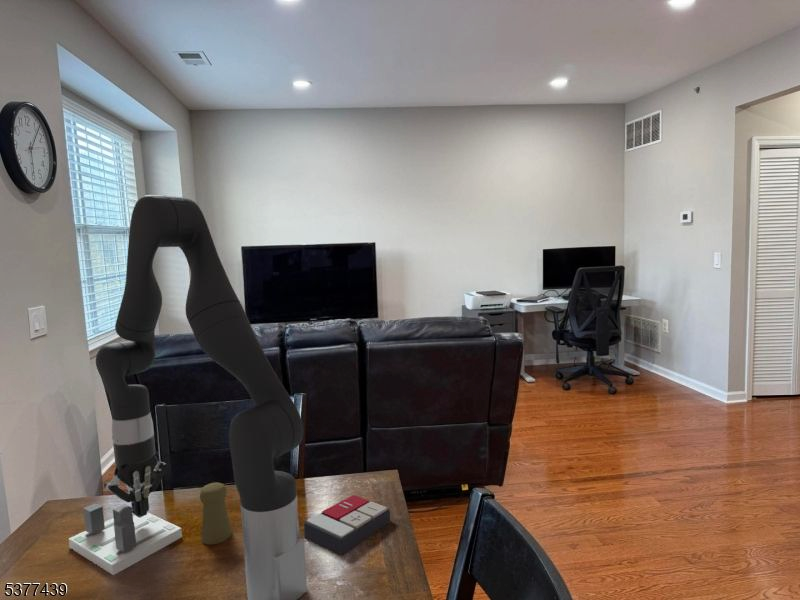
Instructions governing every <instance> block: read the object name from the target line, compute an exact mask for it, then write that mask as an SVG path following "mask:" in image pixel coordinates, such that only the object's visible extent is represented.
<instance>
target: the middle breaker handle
mask: <svg viewBox="0 0 800 600" xmlns="http://www.w3.org/2000/svg"><path fill="white" fill-rule="evenodd" d="M112 515H113V517H112V518H114V524H115V523H117V522H119V521H122V520H124V519H126V518H127V519H129V520H131V521H133V514H132V506H130V505H128V504H125V503H123V504H121V505H120V506H117V507H115V508H113V509H112Z"/></svg>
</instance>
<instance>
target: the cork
mask: <svg viewBox="0 0 800 600" xmlns="http://www.w3.org/2000/svg"><path fill="white" fill-rule="evenodd" d="M226 497H227V488H226V485H225V484H224V483H221V482H211V483H208V484H205V485H204V486H203V487H202V488H201V489H200V492H199V499H200V501H201V503H202V516H201V517H202V518H201V519H202V521H201V534H200V535H201V536H200V539H201V540H200V541H201V542H202V543H203V544H205V545H217V544H220V543H224V542H225V541H227V540H228V539H230V538H231V536H232V534H233V533H232V532H233V531H232V527H231V522H230V518H229V513H228V509H227V505H226V500H225V499H226Z"/></svg>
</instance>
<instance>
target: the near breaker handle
mask: <svg viewBox="0 0 800 600" xmlns="http://www.w3.org/2000/svg"><path fill="white" fill-rule="evenodd" d="M114 531H115V541H116V549H118V550H120V551H121V552H123V553H125V552H127V551H129V550H131V549H133V548H135V547H136V537H135V527H134V522H133V521H131V520H129V519H127V518H126V519H124V520H122V521H119V522H117V523H115V524H114Z"/></svg>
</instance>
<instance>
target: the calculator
mask: <svg viewBox="0 0 800 600" xmlns="http://www.w3.org/2000/svg"><path fill="white" fill-rule="evenodd" d="M389 521H390V522H391V510H390V509H389V508H388V507H387V506H384V505H381V504H379V503H376V502H374V501H369V499H366V498H363V497H361V496H358V495H356V494H352V495H351V496H349V497H347V498H345V499H343V500H341V501H339V502H337V503H335V504H333V505H331V506H329V507H327V508H326V509H324V510H322V511H321V512H320V513H318V514H316V515H314V516H312V517H310V518H308V519H307V520H305V521H304V523H303V528H304V529H303V532H304V539H305V540H307V539H308V540H307V541H309V540H310V542H311V541H312V543H313V542H314V543H313V544H315V545H317V544H318V545H317V546H319V547H321V548H323V549H325V548H326V550H327V549H328V550H327V551H329V550H330V551H329V552H331V551H332V552H331V553H333V552H334V553H333V554H335V555H337V554H338V555H337V556H339V555H340V556H339V557H344V556H345V555H347V553H349V552H350V551H352V550H353V549H355V548H356V547H357V546H358V545H359V544H361V542H364V541H365V540H367V537H368V538H369V537H371V536H373V533H374V532H375V533H376V531H377V530H378V531H379V530H381V529H382V528H384V527H385V526H386V525H388V524H389V523H390V522H389ZM388 522H389V523H388ZM387 523H388V524H387ZM385 524H386V525H385ZM384 525H385V526H384ZM383 526H384V527H383ZM381 527H382V528H381ZM380 528H381V529H380ZM378 531H377V532H378ZM375 533H374V534H375ZM370 535H371V536H370ZM364 539H365V540H364ZM351 549H352V550H351ZM349 550H350V551H349ZM348 551H349V552H348ZM344 554H345V555H344Z"/></svg>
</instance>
